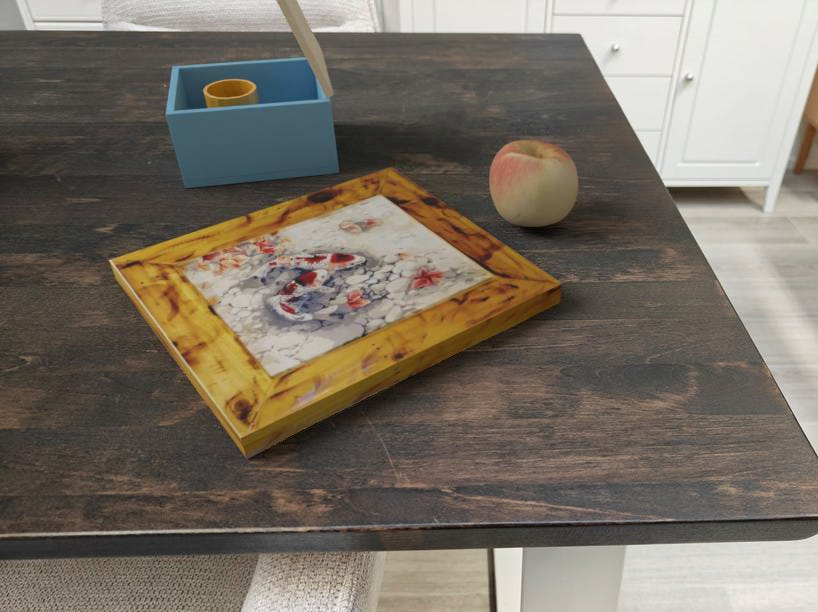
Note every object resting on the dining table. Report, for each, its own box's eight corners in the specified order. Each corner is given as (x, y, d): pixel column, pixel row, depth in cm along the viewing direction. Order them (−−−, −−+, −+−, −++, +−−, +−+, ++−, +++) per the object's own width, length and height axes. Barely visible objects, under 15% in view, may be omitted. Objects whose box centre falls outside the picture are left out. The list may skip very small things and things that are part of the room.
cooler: (185, 188, 80) (165, 114, 75) (189, 134, 90) (172, 66, 85) (339, 173, 84) (331, 101, 78) (327, 123, 94) (319, 56, 88)
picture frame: (561, 283, 65) (240, 438, 51) (559, 303, 66) (246, 458, 52) (391, 167, 81) (108, 260, 66) (392, 185, 82) (116, 279, 68)
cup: (206, 153, 85) (192, 93, 80) (237, 134, 89) (224, 75, 84) (247, 163, 83) (235, 102, 79) (276, 143, 87) (266, 83, 83)
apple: (476, 207, 79) (477, 136, 73) (552, 193, 81) (558, 123, 76) (509, 250, 73) (513, 175, 67) (589, 233, 75) (599, 160, 70)
